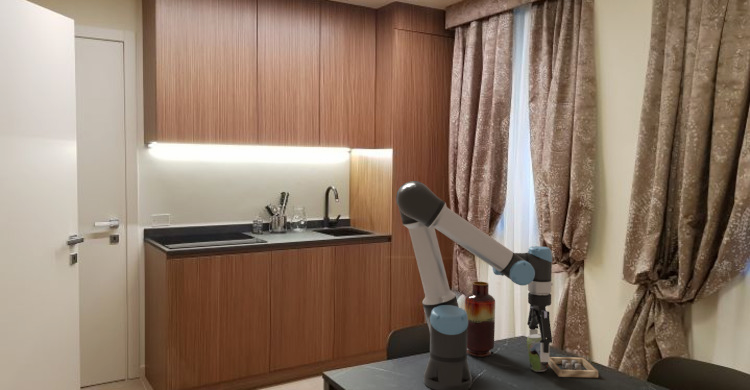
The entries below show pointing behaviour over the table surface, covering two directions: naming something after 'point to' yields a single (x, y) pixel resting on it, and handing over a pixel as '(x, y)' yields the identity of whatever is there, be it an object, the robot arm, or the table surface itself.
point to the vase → (480, 320)
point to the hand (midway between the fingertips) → (538, 354)
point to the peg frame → (572, 367)
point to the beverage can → (535, 353)
